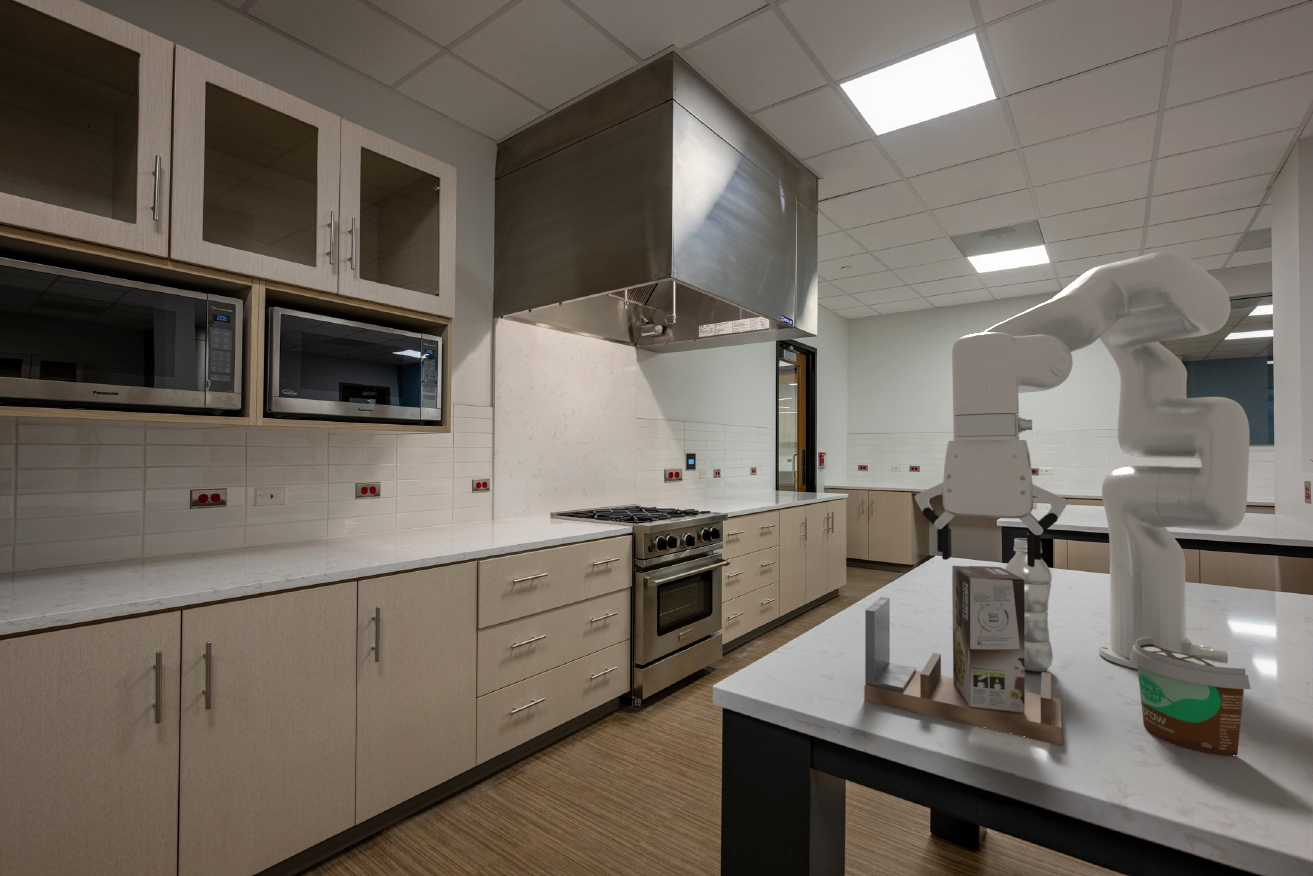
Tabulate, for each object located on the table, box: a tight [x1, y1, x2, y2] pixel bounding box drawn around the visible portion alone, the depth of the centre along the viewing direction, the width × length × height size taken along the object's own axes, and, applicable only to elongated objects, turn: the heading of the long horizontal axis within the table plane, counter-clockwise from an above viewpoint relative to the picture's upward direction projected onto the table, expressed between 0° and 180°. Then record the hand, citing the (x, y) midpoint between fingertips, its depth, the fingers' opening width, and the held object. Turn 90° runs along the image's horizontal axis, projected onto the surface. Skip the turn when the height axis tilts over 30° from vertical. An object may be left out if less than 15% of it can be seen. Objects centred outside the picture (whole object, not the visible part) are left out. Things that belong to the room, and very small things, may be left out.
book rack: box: [863, 652, 1063, 746], centre depth 79 cm, size 22×10×5 cm, turn 57°
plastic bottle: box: [1004, 537, 1054, 672], centre depth 94 cm, size 6×7×20 cm
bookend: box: [864, 596, 917, 692], centre depth 84 cm, size 5×9×10 cm, turn 147°
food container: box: [1130, 637, 1251, 757], centre depth 72 cm, size 12×6×10 cm, turn 5°
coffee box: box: [951, 565, 1026, 713], centre depth 78 cm, size 9×6×16 cm
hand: (987, 561), depth 78 cm, fingers open, 9 cm apart
